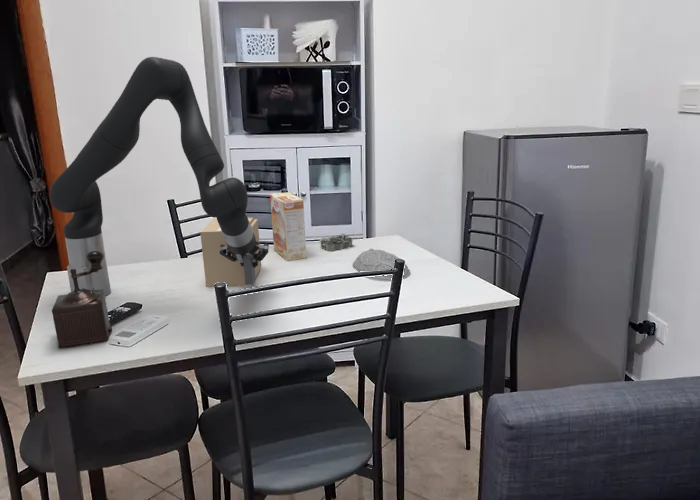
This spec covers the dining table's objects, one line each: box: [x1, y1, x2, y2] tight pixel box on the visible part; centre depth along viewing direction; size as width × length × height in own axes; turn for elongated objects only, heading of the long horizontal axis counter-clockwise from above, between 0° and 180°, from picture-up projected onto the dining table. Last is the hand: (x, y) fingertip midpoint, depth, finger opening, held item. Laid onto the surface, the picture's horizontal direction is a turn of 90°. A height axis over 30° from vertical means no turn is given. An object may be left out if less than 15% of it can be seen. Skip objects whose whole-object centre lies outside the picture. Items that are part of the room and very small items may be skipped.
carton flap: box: [243, 218, 262, 286], centre depth 169 cm, size 21×2×15 cm, turn 179°
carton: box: [199, 217, 254, 288], centre depth 172 cm, size 16×12×16 cm
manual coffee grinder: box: [51, 251, 113, 349], centre depth 136 cm, size 16×11×18 cm
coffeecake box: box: [269, 191, 307, 262], centre depth 193 cm, size 15×7×20 cm, turn 23°
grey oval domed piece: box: [352, 248, 411, 282], centre depth 177 cm, size 16×25×7 cm, turn 26°
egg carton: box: [318, 233, 355, 252], centre depth 201 cm, size 11×8×4 cm
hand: (250, 264), depth 164 cm, fingers closed on carton flap, 2 cm apart
